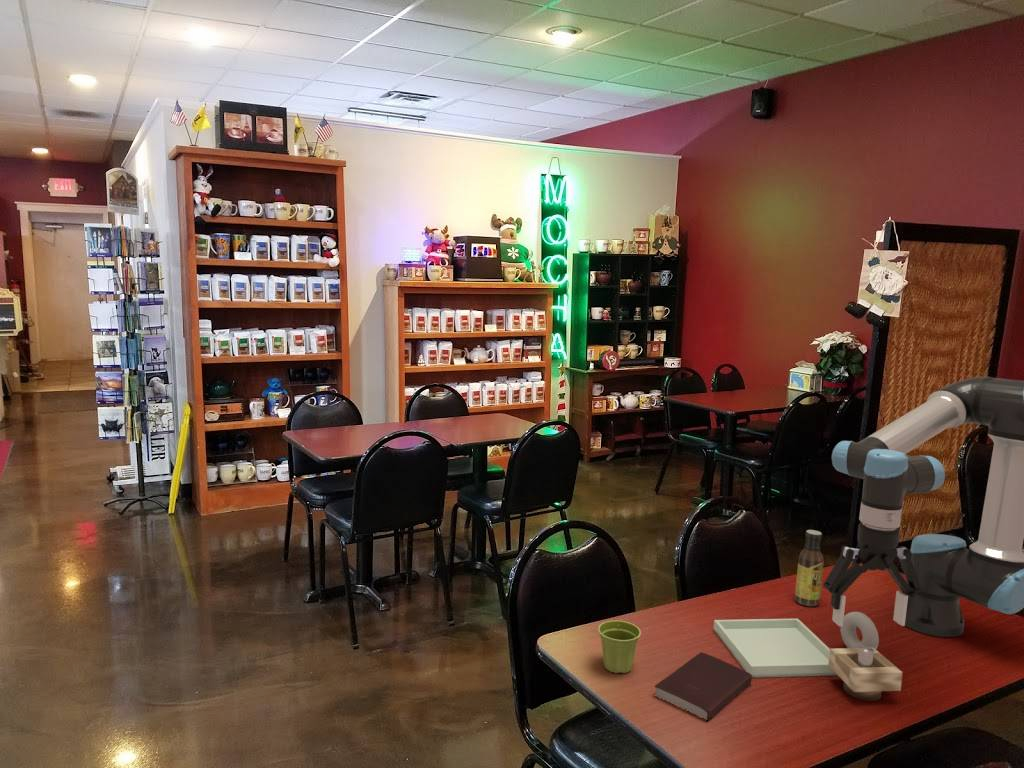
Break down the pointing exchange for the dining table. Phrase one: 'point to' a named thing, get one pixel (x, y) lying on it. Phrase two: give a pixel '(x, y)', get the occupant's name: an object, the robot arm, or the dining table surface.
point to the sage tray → (775, 647)
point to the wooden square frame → (865, 671)
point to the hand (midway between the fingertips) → (868, 623)
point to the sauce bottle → (810, 570)
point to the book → (703, 685)
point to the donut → (864, 625)
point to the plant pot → (618, 644)
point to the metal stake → (864, 661)
